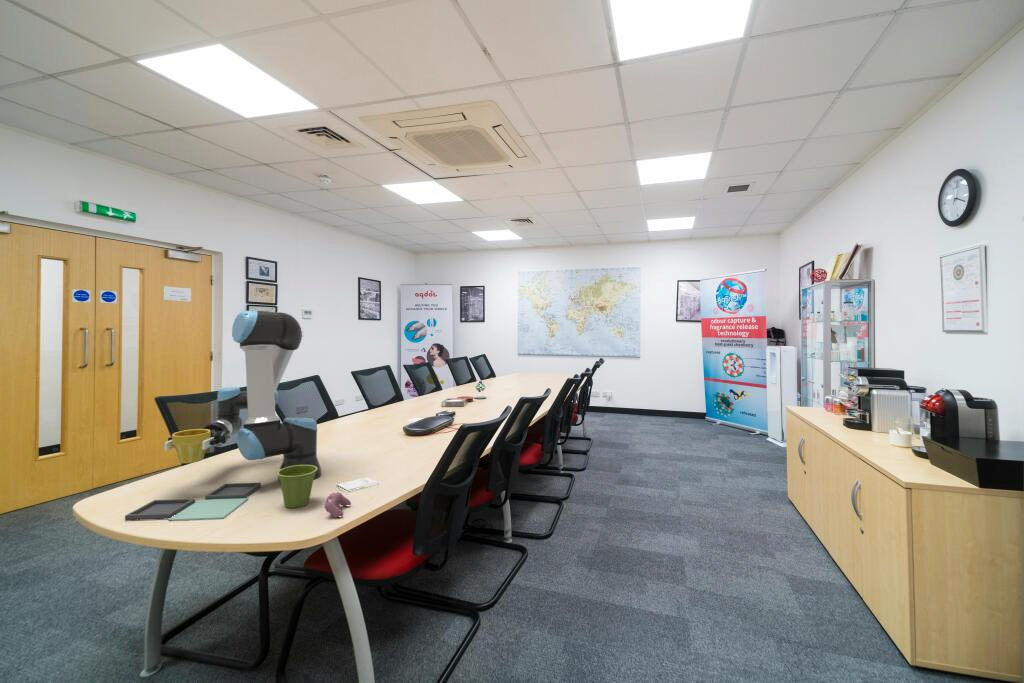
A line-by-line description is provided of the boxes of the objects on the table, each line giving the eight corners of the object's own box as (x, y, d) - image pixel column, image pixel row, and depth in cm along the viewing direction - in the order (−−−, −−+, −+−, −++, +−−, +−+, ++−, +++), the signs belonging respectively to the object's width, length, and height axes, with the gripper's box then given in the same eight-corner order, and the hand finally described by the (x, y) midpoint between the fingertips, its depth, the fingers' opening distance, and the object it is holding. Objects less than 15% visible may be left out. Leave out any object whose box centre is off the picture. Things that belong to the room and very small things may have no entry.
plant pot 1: (191, 466, 136) (191, 436, 136) (163, 464, 137) (163, 434, 137) (217, 457, 146) (217, 429, 146) (191, 455, 147) (191, 428, 147)
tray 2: (260, 486, 151) (260, 482, 151) (244, 499, 139) (244, 494, 139) (225, 487, 149) (225, 483, 149) (205, 500, 137) (205, 496, 137)
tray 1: (194, 503, 135) (195, 498, 135) (169, 518, 123) (169, 513, 123) (154, 504, 134) (154, 500, 134) (124, 520, 122) (125, 515, 122)
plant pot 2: (271, 513, 129) (271, 476, 129) (283, 498, 140) (283, 465, 140) (312, 510, 131) (312, 474, 131) (320, 496, 143) (321, 463, 143)
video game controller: (339, 510, 135) (330, 491, 135) (352, 504, 135) (343, 485, 135) (329, 524, 125) (319, 503, 125) (343, 517, 125) (333, 496, 125)
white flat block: (336, 488, 152) (368, 480, 161) (346, 494, 146) (378, 485, 156) (336, 484, 152) (368, 476, 161) (346, 489, 146) (378, 481, 156)
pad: (248, 499, 139) (248, 498, 139) (223, 518, 124) (223, 517, 124) (199, 501, 137) (199, 499, 137) (168, 521, 122) (168, 519, 122)
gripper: (249, 440, 161) (223, 456, 140) (182, 442, 156) (144, 459, 135) (249, 421, 161) (223, 433, 140) (183, 422, 156) (144, 436, 135)
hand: (184, 446), depth 137 cm, fingers closed on plant pot 1, 10 cm apart
